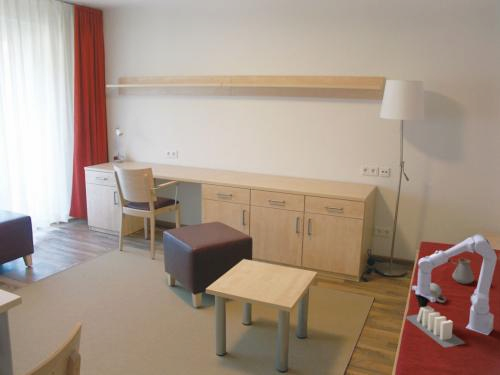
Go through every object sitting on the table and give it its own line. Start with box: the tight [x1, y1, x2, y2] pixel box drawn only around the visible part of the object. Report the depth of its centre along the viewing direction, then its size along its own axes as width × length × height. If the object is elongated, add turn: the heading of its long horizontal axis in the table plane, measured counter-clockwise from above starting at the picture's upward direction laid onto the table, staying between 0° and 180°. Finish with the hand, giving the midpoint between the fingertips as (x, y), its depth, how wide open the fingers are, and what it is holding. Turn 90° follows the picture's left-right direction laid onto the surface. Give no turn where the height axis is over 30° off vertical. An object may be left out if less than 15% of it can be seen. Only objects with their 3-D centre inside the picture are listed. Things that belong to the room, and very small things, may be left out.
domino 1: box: [417, 305, 432, 322], centre depth 205 cm, size 2×5×8 cm, turn 107°
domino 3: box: [428, 311, 441, 331], centre depth 199 cm, size 2×5×8 cm, turn 106°
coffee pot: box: [447, 258, 475, 285], centre depth 250 cm, size 21×12×15 cm, turn 72°
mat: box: [404, 313, 466, 349], centre depth 200 cm, size 28×11×1 cm, turn 16°
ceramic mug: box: [430, 282, 447, 304], centre depth 228 cm, size 11×8×8 cm
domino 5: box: [440, 319, 454, 340], centre depth 191 cm, size 2×5×8 cm, turn 106°
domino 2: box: [422, 307, 435, 327], centre depth 203 cm, size 2×5×8 cm, turn 106°
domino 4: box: [433, 315, 447, 335], centre depth 195 cm, size 2×5×8 cm, turn 106°
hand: (422, 309), depth 206 cm, fingers closed
